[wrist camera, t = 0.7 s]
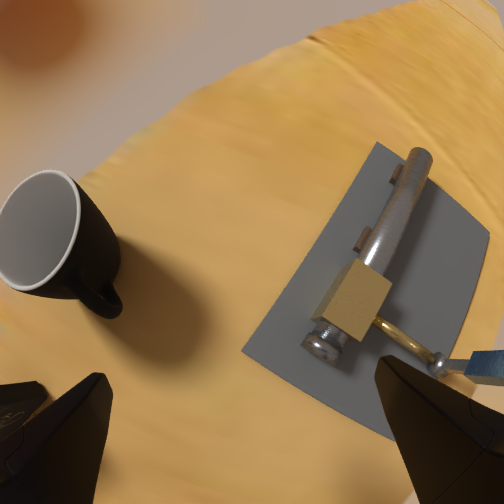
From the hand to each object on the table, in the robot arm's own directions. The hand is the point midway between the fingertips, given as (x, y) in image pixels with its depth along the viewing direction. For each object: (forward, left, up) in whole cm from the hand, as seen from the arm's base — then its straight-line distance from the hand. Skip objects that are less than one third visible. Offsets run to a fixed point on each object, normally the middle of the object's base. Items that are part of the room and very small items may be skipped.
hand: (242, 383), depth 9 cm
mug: (+15, +4, -16) cm, 22 cm away
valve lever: (-15, -10, -13) cm, 22 cm away
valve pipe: (-7, -15, -15) cm, 23 cm away
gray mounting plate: (-7, -14, -16) cm, 22 cm away
